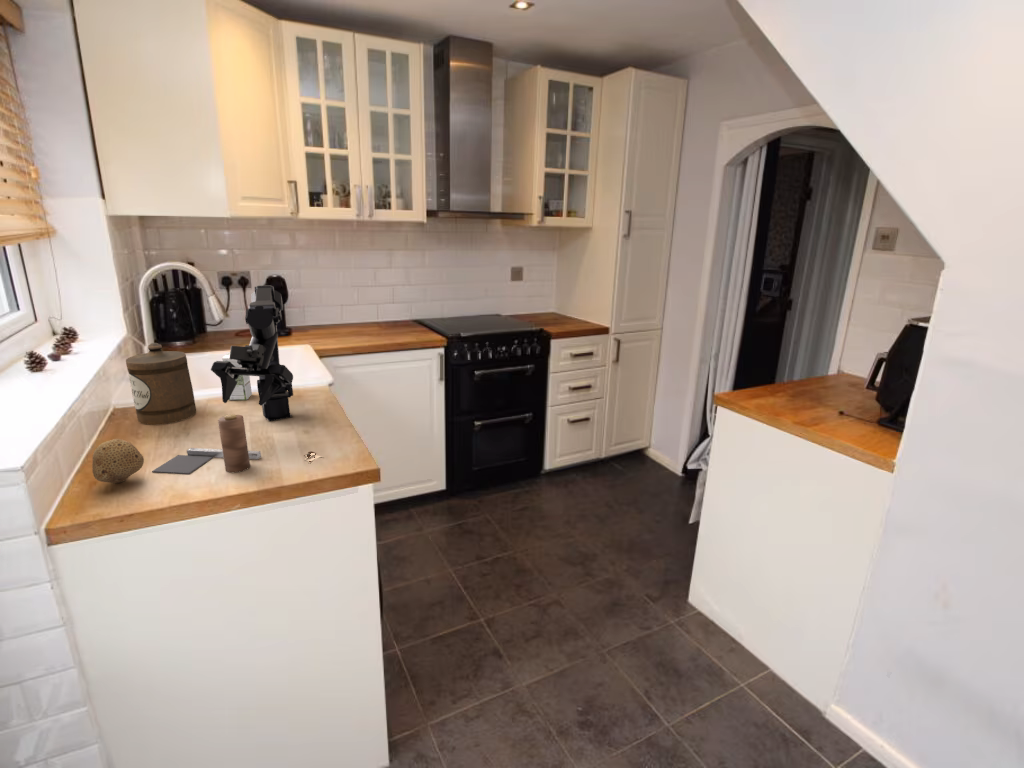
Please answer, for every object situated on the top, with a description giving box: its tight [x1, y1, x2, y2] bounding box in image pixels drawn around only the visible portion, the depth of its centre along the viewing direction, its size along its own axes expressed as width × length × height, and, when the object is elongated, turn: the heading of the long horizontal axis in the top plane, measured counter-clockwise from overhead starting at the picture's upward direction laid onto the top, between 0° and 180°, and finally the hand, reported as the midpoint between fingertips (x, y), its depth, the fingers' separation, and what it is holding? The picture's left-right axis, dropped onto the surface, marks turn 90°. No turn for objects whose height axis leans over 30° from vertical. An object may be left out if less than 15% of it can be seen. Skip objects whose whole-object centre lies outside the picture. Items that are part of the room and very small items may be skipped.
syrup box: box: [221, 353, 253, 401], centre depth 173 cm, size 6×6×14 cm
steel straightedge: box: [186, 447, 262, 460], centre depth 132 cm, size 18×2×2 cm, turn 86°
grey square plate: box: [151, 454, 214, 475], centre depth 128 cm, size 9×9×1 cm
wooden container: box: [125, 342, 197, 426], centre depth 155 cm, size 15×15×22 cm
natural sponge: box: [91, 438, 145, 484], centre depth 118 cm, size 9×9×10 cm
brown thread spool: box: [217, 413, 251, 473], centre depth 125 cm, size 5×5×13 cm
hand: (242, 403), depth 130 cm, fingers open, 9 cm apart
